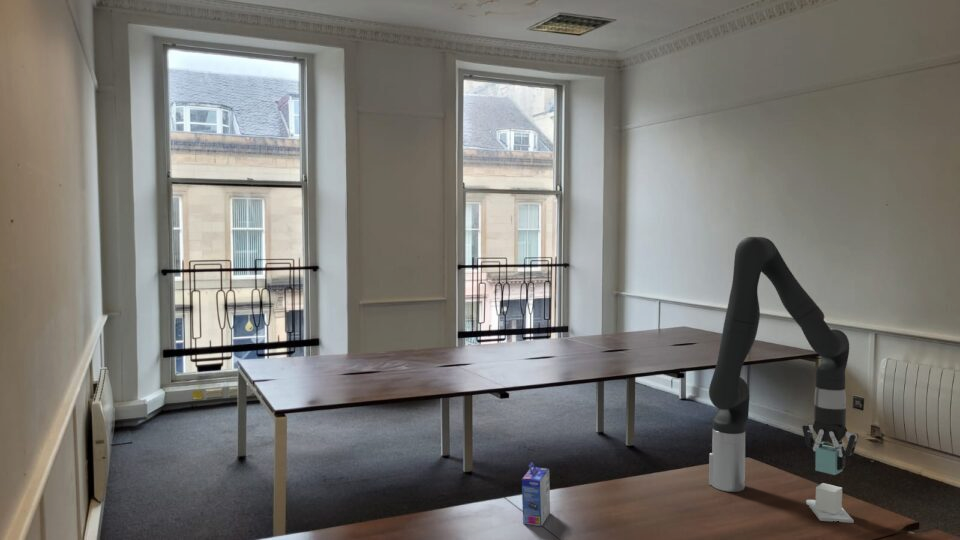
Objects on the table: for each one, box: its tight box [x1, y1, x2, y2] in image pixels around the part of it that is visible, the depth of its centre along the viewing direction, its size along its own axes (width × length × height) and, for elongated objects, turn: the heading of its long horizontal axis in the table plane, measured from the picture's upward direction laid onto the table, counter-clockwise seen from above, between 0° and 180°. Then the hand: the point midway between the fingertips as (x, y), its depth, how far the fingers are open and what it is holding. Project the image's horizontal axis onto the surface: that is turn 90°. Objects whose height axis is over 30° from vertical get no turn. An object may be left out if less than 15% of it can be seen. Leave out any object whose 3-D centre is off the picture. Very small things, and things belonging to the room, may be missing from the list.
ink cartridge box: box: [521, 461, 551, 527], centre depth 180 cm, size 10×6×14 cm, turn 161°
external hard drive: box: [805, 499, 855, 524], centre depth 183 cm, size 2×8×12 cm
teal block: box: [814, 444, 844, 476], centre depth 182 cm, size 5×5×6 cm
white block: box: [815, 482, 843, 514], centre depth 183 cm, size 5×5×6 cm
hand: (829, 466), depth 182 cm, fingers closed on teal block, 5 cm apart
